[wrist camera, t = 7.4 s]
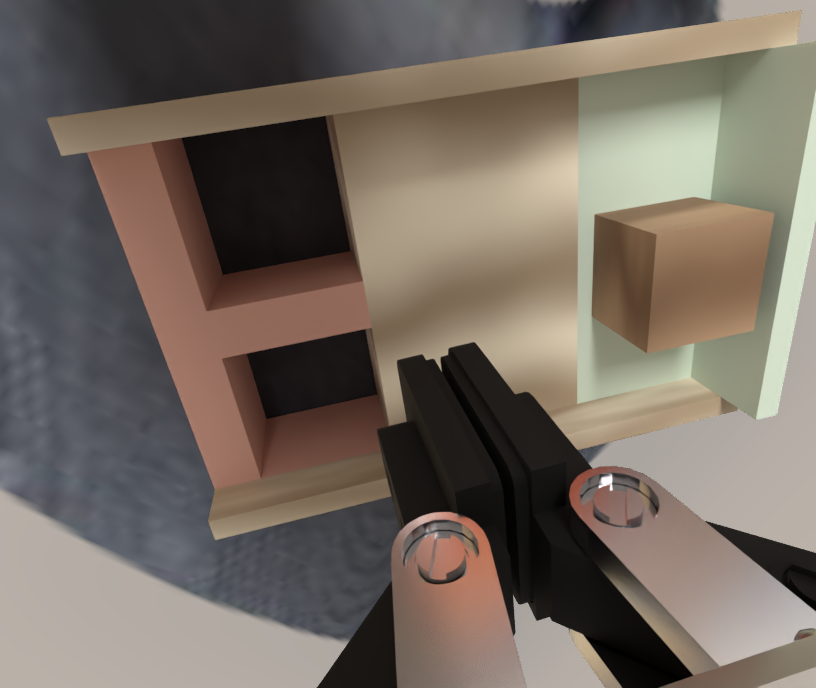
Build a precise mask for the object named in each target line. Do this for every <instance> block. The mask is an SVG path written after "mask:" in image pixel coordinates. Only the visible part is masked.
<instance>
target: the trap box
mask: <svg viewBox="0 0 816 688" xmlns="http://www.w3.org/2000/svg"><path fill="white" fill-rule="evenodd" d="M801 13H802V10H800V11H793V12H786V13H779V14H773V15H765V16H758V17H751V18H745V19H737V20H730V21H723V22H716V23H709V24H702V25H695V26H688V27H681V28H674V29H667V30H660V31H653V32H646V33H639V34H632V35H625V36H618V37H611V38H604V39H597V40H590V41H583V42H576V43H569V44H562V45H555V46H548V47H541V48H534V49H527V50H520V51H513V52H506V53H499V54H492V55H485V56H478V57H471V58H464V59H457V60H450V61H443V62H436V63H429V64H422V65H415V66H408V67H401V68H394V69H387V70H380V71H373V72H366V73H359V74H352V75H345V76H338V77H331V78H324V79H317V80H310V81H303V82H296V83H289V84H282V85H275V86H269V87H262V88H255V89H248V90H241V91H234V92H227V93H220V94H213V95H206V96H199V97H192V98H185V99H178V100H171V101H164V102H157V103H150V104H143V105H136V106H129V107H122V108H115V109H108V110H101V111H94V112H87V113H80V114H73V115H66V116H59V117H52V118H47V121H48V123H49V126H50V128H51V131H52V133H53V136H54V138H55V141H56V143H57V146H58V148H59V151H60V153H61V156H65V155H71V154H78V153H84V152H87V154H88V156H89V159H90V162H91V164H92V167H93V170H94V172H95V175H96V177H97V180H98V183H99V185H100V188H101V191H102V193H103V196H104V199H105V201H106V204H107V206H108V209H109V212H110V214H111V217H112V220H113V222H114V225H115V228H116V230H117V233H118V235H119V238H120V241H121V243H122V246H123V249H124V251H125V254H126V257H127V259H128V262H129V264H130V267H131V270H132V272H133V275H134V278H135V280H136V283H137V286H138V288H139V291H140V293H141V296H142V299H143V301H144V304H145V307H146V309H147V312H148V315H149V317H150V320H151V322H152V325H153V328H154V330H155V333H156V336H157V338H158V341H159V344H160V346H161V349H162V351H163V354H164V357H165V359H166V362H167V365H168V367H169V370H170V373H171V375H172V378H173V380H174V383H175V386H176V388H177V391H178V394H179V396H180V399H181V401H182V404H183V407H184V409H185V412H186V415H187V417H188V420H189V423H190V425H191V428H192V430H193V433H194V436H195V438H196V441H197V444H198V446H199V449H200V452H201V454H202V457H203V459H204V462H205V465H206V467H207V470H208V473H209V475H210V478H211V481H212V483H213V486H214V488H215V492H214V496H213V501H212V506H211V510H210V515H209V520H208V523H209V525H210V528H211V530H212V533H213V535H214V538H215V540H218V539H222V538H226V537H230V536H234V535H238V534H242V533H246V532H250V531H254V530H258V529H262V528H266V527H270V526H274V525H278V524H282V523H286V522H290V521H294V520H298V519H302V518H306V517H310V516H314V515H319V514H323V513H327V512H331V511H335V510H339V509H343V508H347V507H351V506H355V505H359V504H363V503H367V502H371V501H375V500H379V499H383V498H387V497H391V493H390V489H389V485H388V481H387V477H386V472H385V468H384V464H383V459H382V454H381V450H380V445H379V440H378V435H377V429H379V428H383V427H387V426H391V425H395V424H399V423H403V422H407V420H406V414H405V409H404V403H403V397H402V392H401V386H400V380H399V374H398V368H397V360H399V359H403V358H408V357H412V356H416V355H421V354H423V356H424V357H425V359H426V360H429V359H435V361H436V363H437V364H438V366H439V368H440V370H441V362H440V359H441V357H442V356H446V355H448V349H449V348H450V347H455V346H459V345H463V344H467V343H472V342H475V343H476V344H477V345H478V346H479V348H480V349H481V350H482V352H483V353H484V354H485V356H486V357H487V358H488V359H489V361H490V362H491V363H492V365H493V366H494V367H495V369H496V370H497V371H498V373H499V374H500V375H501V376H502V378H503V379H504V380H505V382H506V383H507V384H508V386H509V387H510V388H511V390H512V391H513V392H514V393H515V394H518V393H522V392H529V393H530V394H531V395H532V396H534V398H535V399H536V400H537V401H538V403H539V404H540V405H541V406H542V407H543V409H544V410H545V411H546V412H547V414H548V415H549V416H550V417H551V418H552V420H553V421H554V422H555V423H556V425H557V426H558V427H559V428H560V429H561V431H562V432H563V433H564V434H565V436H566V437H567V438H568V439H569V440H570V442H571V443H572V444H573V445H574V447H575V448H576V449H577V450H580V449H584V448H588V447H592V446H596V445H600V444H604V443H608V442H612V441H616V440H620V439H624V438H628V437H632V436H636V435H641V434H644V433H649V432H653V431H657V430H661V429H664V428H669V427H673V426H677V425H681V424H685V423H689V422H693V421H697V420H701V419H705V418H709V417H713V416H717V415H721V414H725V413H729V412H733V411H737V409H740V410H741V411H743V412H745V413H746V414H748V415H749V416H751V417H752V418H754V419H755V420H758V419H762V418H766V417H770V416H774V415H777V411H778V406H779V401H780V396H781V391H782V386H783V381H784V376H785V371H786V366H787V362H788V356H789V352H790V347H791V341H792V337H793V332H794V327H795V322H796V317H797V312H798V307H799V302H800V297H801V292H802V287H803V282H804V277H805V271H806V267H807V262H808V257H809V252H810V247H811V242H812V237H813V232H814V227H815V222H816V41H815V42H808V43H801V44H797V37H798V32H799V25H800V19H801ZM321 116H325V117H326V123H327V128H328V133H329V139H330V144H331V149H332V155H333V160H334V165H335V171H336V176H337V181H338V187H339V192H340V197H341V203H342V208H343V213H344V219H345V224H346V229H347V235H348V240H349V245H350V251H349V252H343V253H338V254H333V255H327V256H322V257H316V258H311V259H306V260H300V261H295V262H290V263H284V264H279V265H273V266H268V267H263V268H257V269H252V270H247V271H241V272H236V273H230V274H225V275H223V274H222V270H221V267H220V264H219V260H218V257H217V254H216V251H215V247H214V244H213V241H212V237H211V234H210V231H209V227H208V224H207V221H206V217H205V214H204V211H203V207H202V204H201V201H200V198H199V194H198V191H197V188H196V184H195V181H194V178H193V174H192V171H191V168H190V164H189V161H188V158H187V155H186V151H185V148H184V145H183V141H182V138H183V137H190V136H196V135H203V134H209V133H216V132H223V131H229V130H236V129H242V128H249V127H255V126H262V125H269V124H275V123H282V122H288V121H295V120H301V119H308V118H315V117H321ZM690 197H698V198H703V199H708V200H713V201H718V202H723V203H728V204H733V205H738V206H743V207H748V208H753V209H758V210H763V211H768V212H773V213H774V219H773V224H772V230H771V236H770V241H769V247H768V253H767V258H766V264H765V270H764V275H763V281H762V287H761V292H760V298H759V304H758V309H757V315H756V321H755V326H754V331H749V332H745V333H740V334H735V335H731V336H726V337H721V338H717V339H712V340H708V341H703V342H698V343H694V344H689V345H684V346H680V347H675V348H670V349H666V350H661V351H657V352H652V353H645V352H644V351H642V350H641V349H639V348H638V347H636V346H635V345H633V344H632V343H630V342H629V341H627V340H626V339H624V338H623V337H622V336H620V335H619V334H617V333H616V332H614V331H613V330H611V329H610V328H608V327H607V326H605V325H604V324H602V323H601V322H599V321H598V320H596V319H595V318H593V317H592V283H593V249H594V215H595V214H599V213H605V212H610V211H616V210H622V209H628V208H633V207H639V206H645V205H650V204H656V203H662V202H668V201H673V200H679V199H685V198H690ZM363 329H365V330H366V336H367V341H368V346H369V352H370V357H371V362H372V368H373V373H374V378H375V384H376V389H377V395H372V396H368V397H363V398H359V399H354V400H350V401H345V402H341V403H336V404H332V405H327V406H323V407H319V408H314V409H310V410H305V411H301V412H296V413H292V414H287V415H283V416H278V417H274V418H269V419H266V416H265V413H264V409H263V406H262V403H261V399H260V396H259V393H258V390H257V386H256V383H255V380H254V376H253V373H252V370H251V366H250V363H249V360H248V356H247V353H251V352H256V351H261V350H266V349H271V348H276V347H281V346H285V345H290V344H295V343H300V342H305V341H310V340H315V339H319V338H324V337H329V336H334V335H339V334H344V333H349V332H353V331H358V330H363ZM441 371H442V370H441Z"/></svg>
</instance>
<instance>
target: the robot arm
mask: <svg viewBox="0 0 816 688" xmlns="http://www.w3.org/2000/svg"><path fill="white" fill-rule="evenodd" d="M440 362H441V370H442V371H441V370H440V368H439V366H438V364H437V363H436V361H435V359H429V360H426V359H425V357H424V356H423V354H421V355H416V356H412V357H408V358H403V359H399V360H397V368H398V374H399V380H400V386H401V392H402V397H403V403H404V409H405V414H406V420H407V422H403V423H399V424H395V425H391V426H387V427H383V428H379V429H377V435H378V440H379V445H380V450H381V454H382V459H383V464H384V468H385V472H386V477H387V481H388V485H389V489H390V493H391V497H392V501H393V504H394V508H395V512H396V515H397V519H398V523H399V526H400V530H401V531H400V532H399V533H398V535H397V537H396V539H395V541H394V543H393V545H392V552H391V572H392V581H391V583H390V584H389V585H388V587H387V588H386V590H385V591H384V593H383V594H382V595H381V597H380V598H379V600H378V601H377V603H376V604H375V605H374V607H373V608H372V610H371V611H370V613H369V614H368V615H367V617H366V618H365V620H364V621H363V623H362V624H361V626H360V627H359V628H358V630H357V631H356V633H355V634H354V636H353V637H352V638H351V640H350V641H349V643H348V644H347V646H346V647H345V649H344V650H343V651H342V653H341V654H340V656H339V657H338V659H337V660H336V661H335V663H334V664H333V666H332V667H331V669H330V670H329V672H328V673H327V674H326V676H325V677H324V679H323V680H322V682H321V683H320V684H319V686H318V687H317V688H527V687H526V683H525V679H524V675H523V671H522V667H521V664H520V660H519V656H518V652H517V648H516V644H515V641H514V634H515V619H514V606H513V605H514V604H513V595H514V597H515V599H516V601H517V602H518V604H524V603H527V602H528V604H529V606H530V608H531V610H532V612H533V614H534V616H535V618H536V620H537V621H538V620H541V619H544V618H547V617H550V618H551V620H552V621H554V622H556V623H558V624H561V625H563V626H565V627H567V628H569V633H570V636H571V638H572V640H573V642H574V644H575V646H576V647H577V649H578V650H579V651H580V653H581V654H582V656H583V657H584V658H585V660H586V661H587V662H588V664H589V665H590V667H591V668H592V670H593V671H594V673H595V674H596V675H597V676H598V678H599V680H600V681H601V682H602V684H603V685H604V687H605V688H816V553H814V552H810V551H807V550H804V549H800V548H797V547H793V546H790V545H786V544H783V543H779V542H776V541H772V540H769V539H766V538H762V537H758V536H755V535H752V534H748V533H745V532H741V531H738V530H735V529H731V528H728V527H724V526H721V525H717V524H714V523H711V522H707V521H704V520H703V519H701V518H700V517H699V516H698V515H697V514H695V513H694V512H693V511H692V510H690V509H689V508H688V507H687V506H685V505H684V504H683V503H682V502H681V501H679V500H678V499H677V498H675V497H674V496H673V495H672V494H671V493H670V492H668V491H667V490H666V489H665V488H663V487H662V486H661V485H660V484H659V483H657V482H656V481H654V480H653V479H651V478H650V477H648V476H647V475H645V474H643V473H640V472H637V471H635V470H632V469H630V468H623V467H617V466H602V467H597V468H593V469H592V467H591V466H590V465H589V464H588V462H587V461H586V460H585V459H584V458H583V456H582V455H581V454H580V453H579V451H578V450H577V449H576V448H575V447H574V445H573V444H572V443H571V442H570V440H569V439H568V438H567V437H566V436H565V434H564V433H563V432H562V431H561V429H560V428H559V427H558V426H557V425H556V423H555V422H554V421H553V420H552V418H551V417H550V416H549V415H548V414H547V412H546V411H545V410H544V409H543V407H542V406H541V405H540V404H539V403H538V401H537V400H536V399H535V398H534V396H532V395H531V394H530V393H529V392H522V393H518V394H515V393H514V392H513V391H512V390H511V388H510V387H509V386H508V384H507V383H506V382H505V380H504V379H503V378H502V376H501V375H500V374H499V373H498V371H497V370H496V369H495V367H494V366H493V365H492V363H491V362H490V361H489V359H488V358H487V357H486V356H485V354H484V353H483V352H482V350H481V349H480V348H479V346H478V345H477V344H476V343H475V342H472V343H467V344H463V345H459V346H455V347H450V348H449V349H448V355H446V356H442V357H441V359H440Z"/></svg>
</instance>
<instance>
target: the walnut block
mask: <svg viewBox="0 0 816 688" xmlns="http://www.w3.org/2000/svg"><path fill="white" fill-rule="evenodd" d="M773 219H774V213H773V212H768V211H763V210H758V209H753V208H748V207H743V206H738V205H733V204H728V203H723V202H718V201H713V200H708V199H703V198H698V197H690V198H685V199H679V200H673V201H668V202H662V203H656V204H650V205H645V206H639V207H633V208H628V209H622V210H616V211H610V212H605V213H599V214H595V215H594V249H593V283H592V317H593V318H595V319H596V320H598V321H599V322H601V323H602V324H604V325H605V326H607V327H608V328H610V329H611V330H613V331H614V332H616V333H617V334H619V335H620V336H622V337H623V338H624V339H626V340H627V341H629V342H630V343H632V344H633V345H635V346H636V347H638V348H639V349H641V350H642V351H644V352H645V353H652V352H657V351H661V350H666V349H670V348H675V347H680V346H684V345H689V344H694V343H698V342H703V341H708V340H712V339H717V338H721V337H726V336H731V335H735V334H740V333H745V332H749V331H754V326H755V321H756V315H757V309H758V304H759V298H760V292H761V287H762V281H763V275H764V270H765V264H766V258H767V253H768V247H769V241H770V236H771V230H772V224H773Z"/></svg>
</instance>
